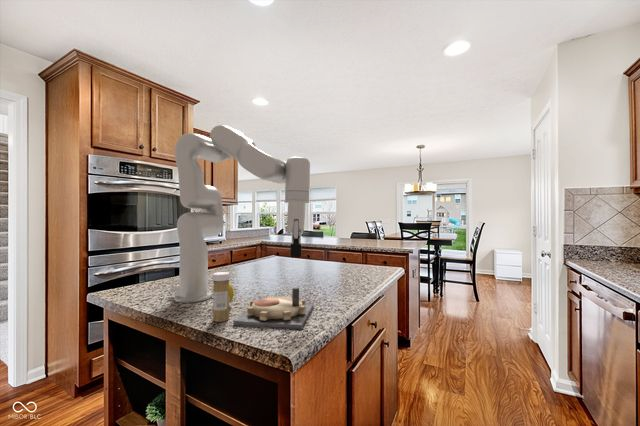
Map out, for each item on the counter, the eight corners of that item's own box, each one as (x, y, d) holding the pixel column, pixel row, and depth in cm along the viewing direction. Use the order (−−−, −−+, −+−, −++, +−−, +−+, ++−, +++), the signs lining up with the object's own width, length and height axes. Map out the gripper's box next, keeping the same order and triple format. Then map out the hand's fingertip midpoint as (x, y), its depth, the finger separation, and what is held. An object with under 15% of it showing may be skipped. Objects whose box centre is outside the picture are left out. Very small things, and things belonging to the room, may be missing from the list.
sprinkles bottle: (231, 316, 82) (231, 271, 83) (226, 322, 78) (226, 274, 78) (216, 316, 82) (216, 271, 83) (209, 322, 78) (210, 274, 78)
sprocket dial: (265, 299, 95) (265, 279, 95) (314, 304, 89) (314, 282, 90) (234, 316, 78) (235, 291, 78) (292, 324, 73) (292, 297, 73)
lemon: (225, 309, 89) (225, 284, 89) (212, 307, 91) (212, 283, 91) (237, 304, 94) (237, 281, 94) (224, 302, 96) (224, 279, 97)
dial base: (233, 325, 76) (233, 320, 76) (258, 304, 95) (258, 300, 95) (301, 329, 73) (301, 324, 73) (313, 307, 92) (313, 303, 92)
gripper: (286, 199, 93) (285, 253, 93) (283, 195, 78) (281, 260, 78) (308, 199, 94) (307, 254, 93) (309, 196, 79) (308, 261, 79)
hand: (295, 256), depth 86 cm, fingers closed
